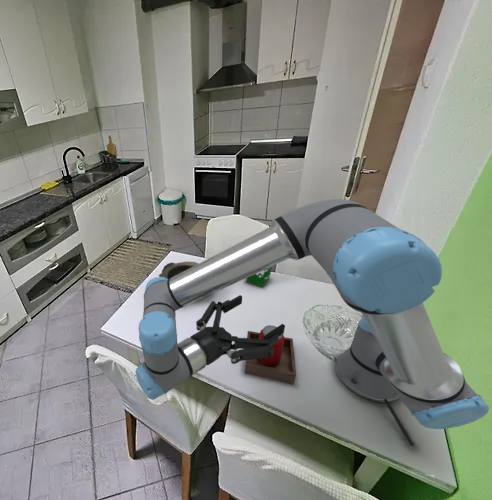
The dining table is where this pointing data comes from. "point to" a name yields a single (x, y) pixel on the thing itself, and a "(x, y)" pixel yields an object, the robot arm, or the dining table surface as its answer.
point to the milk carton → (260, 277)
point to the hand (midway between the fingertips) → (260, 312)
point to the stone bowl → (176, 269)
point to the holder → (279, 372)
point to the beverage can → (277, 346)
